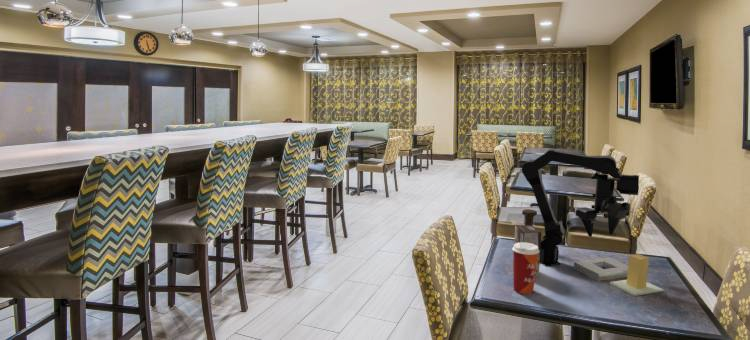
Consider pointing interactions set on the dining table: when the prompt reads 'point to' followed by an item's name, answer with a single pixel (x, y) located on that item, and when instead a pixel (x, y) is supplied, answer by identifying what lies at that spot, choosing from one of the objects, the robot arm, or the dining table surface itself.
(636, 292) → the pad
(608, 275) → the square hole plate
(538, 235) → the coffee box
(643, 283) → the peg
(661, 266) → the dining table surface
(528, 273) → the coffee cup
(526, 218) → the bolt
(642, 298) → the dining table surface
